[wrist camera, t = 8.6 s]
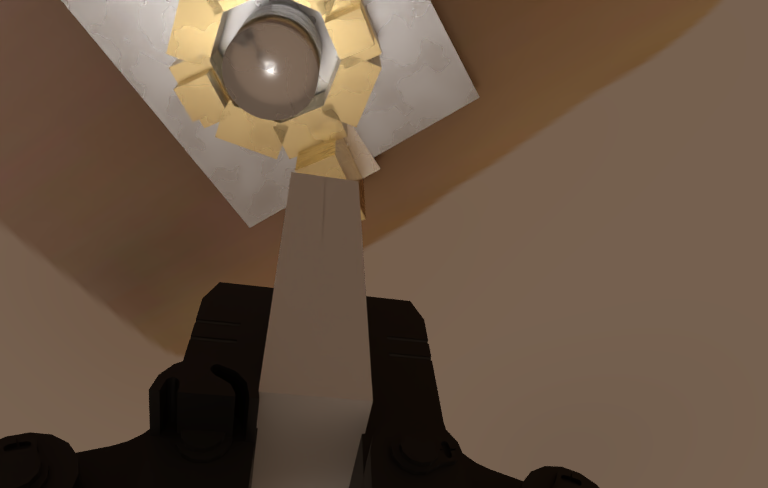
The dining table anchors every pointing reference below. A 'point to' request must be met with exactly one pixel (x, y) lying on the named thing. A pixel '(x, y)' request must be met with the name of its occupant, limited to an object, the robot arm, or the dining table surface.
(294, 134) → the ring nut
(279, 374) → the robot arm
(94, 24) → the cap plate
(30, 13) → the dining table surface
